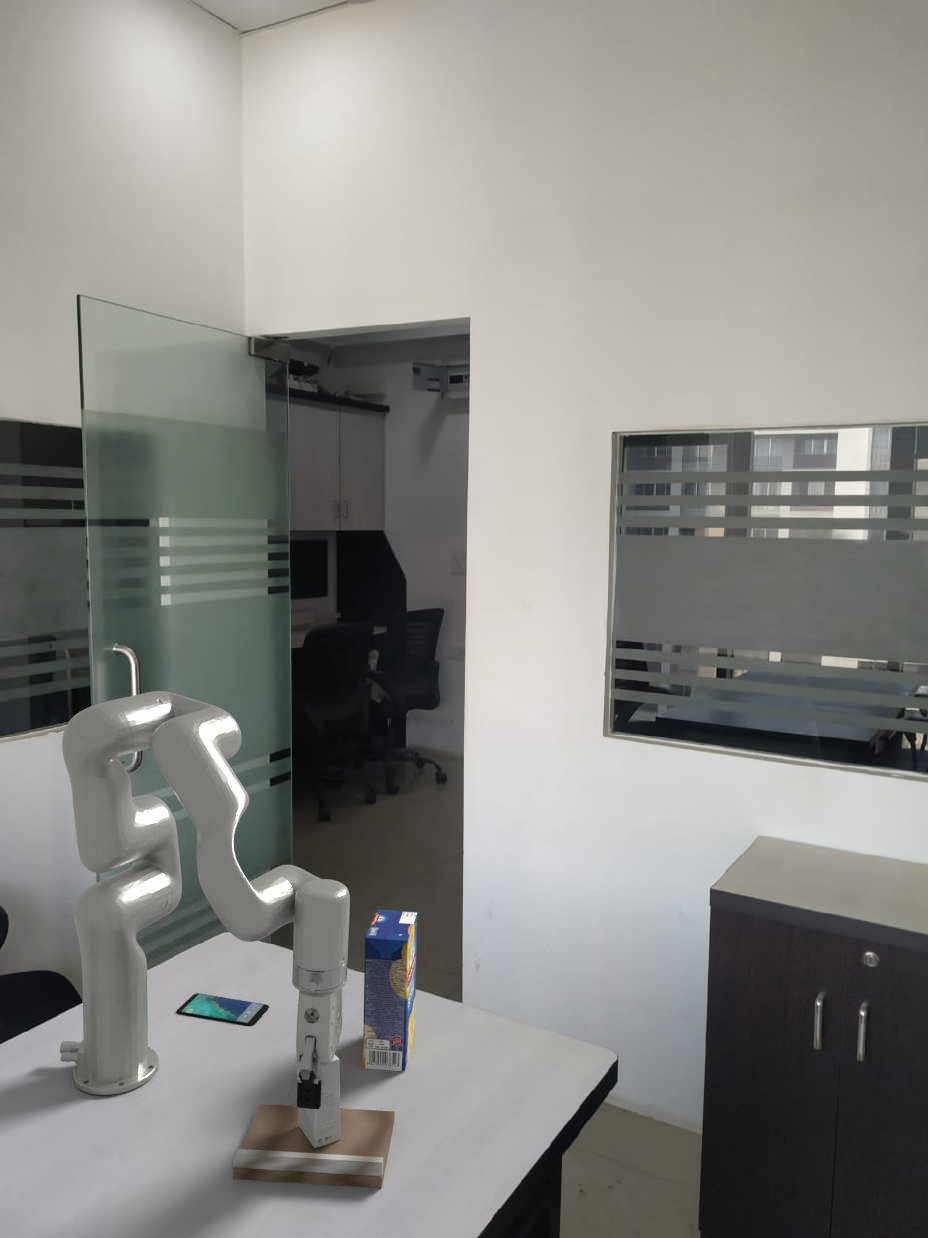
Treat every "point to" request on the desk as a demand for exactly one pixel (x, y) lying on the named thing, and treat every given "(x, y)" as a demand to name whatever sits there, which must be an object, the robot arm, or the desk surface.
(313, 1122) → the skincare box
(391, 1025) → the beverage box
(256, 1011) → the smartphone
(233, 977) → the desk surface
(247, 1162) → the shelf board
